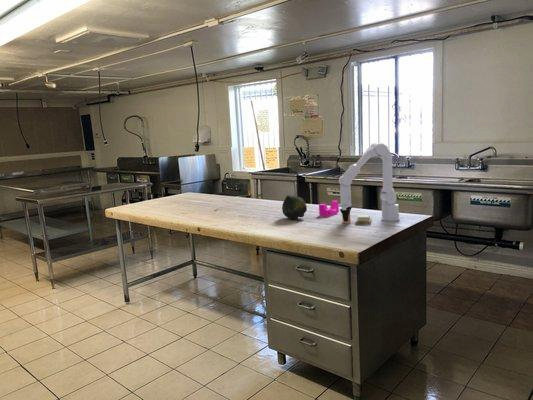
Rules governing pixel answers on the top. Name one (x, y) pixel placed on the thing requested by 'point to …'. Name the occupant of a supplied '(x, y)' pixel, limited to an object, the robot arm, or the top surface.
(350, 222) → the terracotta cylinder
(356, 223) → the tower base
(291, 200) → the squash
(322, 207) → the toy block
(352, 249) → the top surface
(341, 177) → the robot arm
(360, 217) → the tower top
